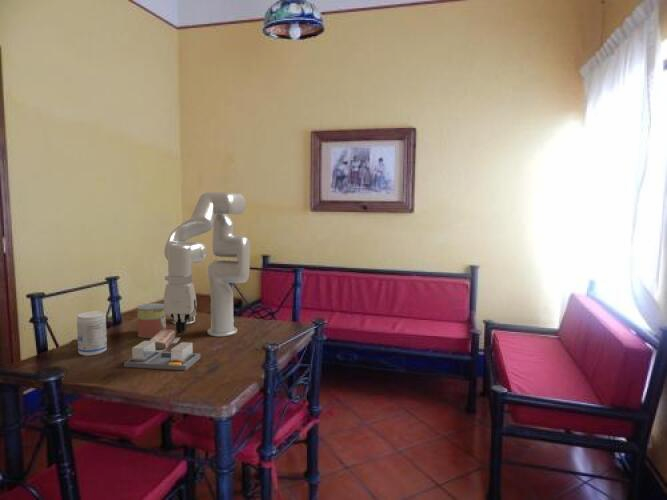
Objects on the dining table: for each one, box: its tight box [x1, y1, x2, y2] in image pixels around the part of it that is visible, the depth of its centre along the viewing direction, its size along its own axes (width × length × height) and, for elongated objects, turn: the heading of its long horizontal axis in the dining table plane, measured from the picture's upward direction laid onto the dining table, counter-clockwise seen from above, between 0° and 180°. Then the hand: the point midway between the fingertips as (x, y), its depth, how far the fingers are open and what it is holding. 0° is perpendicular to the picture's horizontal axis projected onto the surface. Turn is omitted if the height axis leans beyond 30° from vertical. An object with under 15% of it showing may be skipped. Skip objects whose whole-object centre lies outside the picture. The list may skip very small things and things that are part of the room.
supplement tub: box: [76, 310, 108, 357], centre depth 168 cm, size 10×10×15 cm
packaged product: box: [148, 329, 181, 352], centre depth 176 cm, size 18×5×10 cm
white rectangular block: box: [170, 341, 194, 365], centre depth 156 cm, size 8×4×6 cm, turn 172°
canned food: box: [136, 302, 167, 339], centre depth 191 cm, size 11×11×12 cm
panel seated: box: [131, 340, 156, 362], centre depth 157 cm, size 8×4×6 cm, turn 173°
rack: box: [123, 350, 201, 371], centre depth 157 cm, size 12×22×3 cm, turn 83°
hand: (181, 332), depth 155 cm, fingers closed
